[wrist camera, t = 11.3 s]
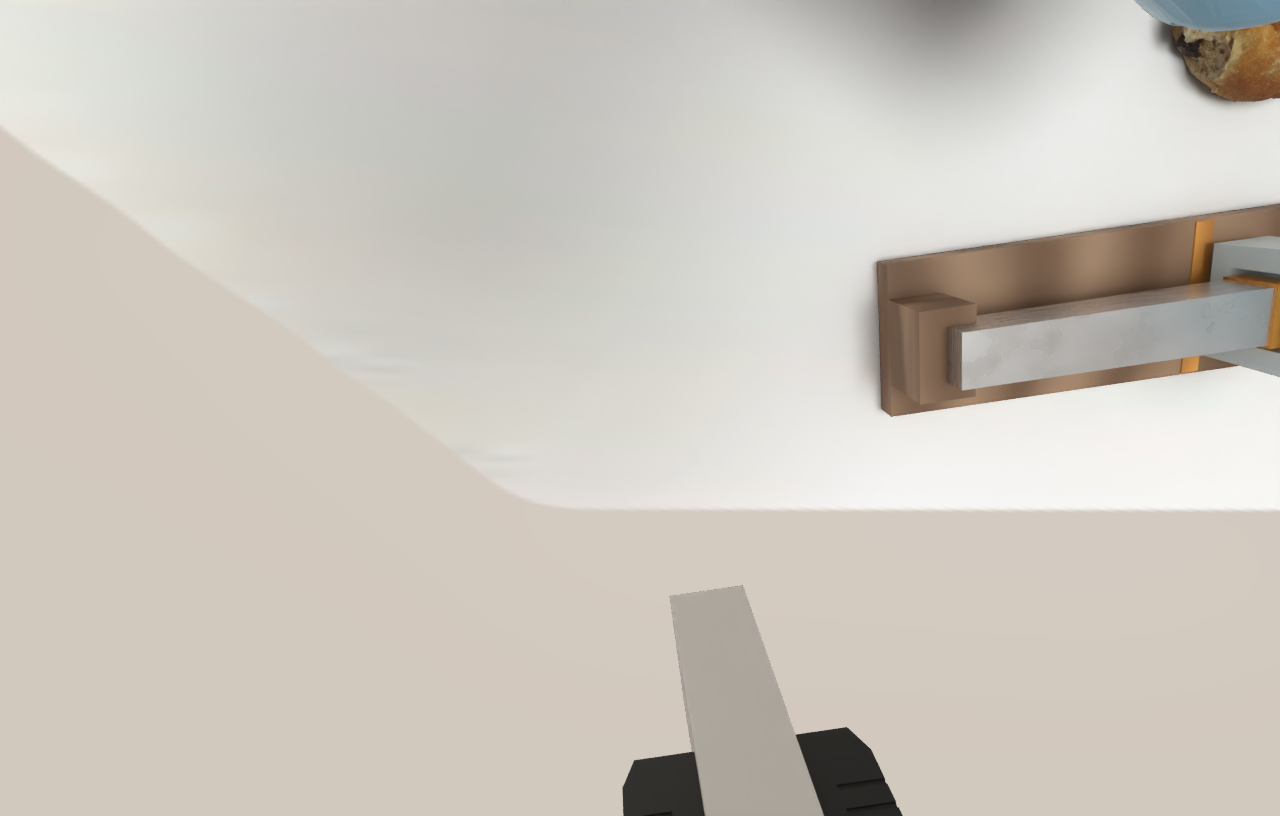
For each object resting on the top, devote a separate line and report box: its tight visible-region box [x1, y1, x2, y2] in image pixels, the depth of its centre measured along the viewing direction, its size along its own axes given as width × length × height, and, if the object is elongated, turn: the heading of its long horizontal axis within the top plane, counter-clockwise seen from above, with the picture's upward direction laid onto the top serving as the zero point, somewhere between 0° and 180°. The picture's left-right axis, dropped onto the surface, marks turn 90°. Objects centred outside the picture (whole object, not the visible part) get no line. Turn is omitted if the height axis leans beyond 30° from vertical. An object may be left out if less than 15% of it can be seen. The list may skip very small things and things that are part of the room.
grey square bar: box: [948, 273, 1280, 390], centre depth 37 cm, size 25×3×3 cm, turn 98°
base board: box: [877, 204, 1280, 417], centre depth 40 cm, size 28×9×6 cm, turn 98°
